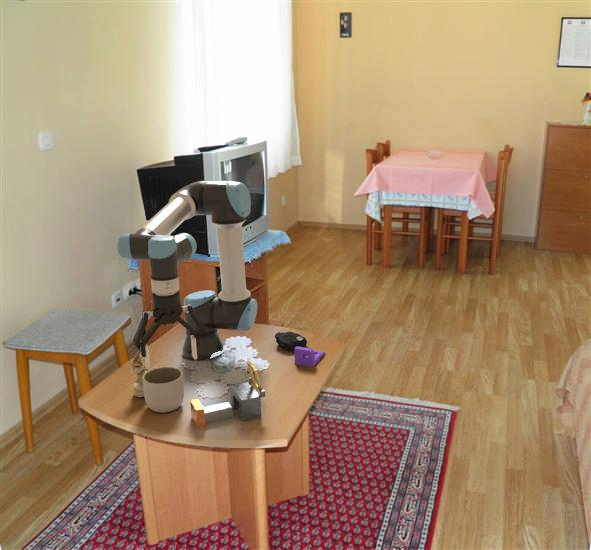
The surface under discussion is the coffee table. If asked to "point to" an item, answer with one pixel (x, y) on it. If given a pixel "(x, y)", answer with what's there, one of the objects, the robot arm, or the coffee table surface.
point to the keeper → (250, 368)
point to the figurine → (138, 374)
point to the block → (246, 400)
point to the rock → (290, 340)
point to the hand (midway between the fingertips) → (171, 362)
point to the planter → (163, 389)
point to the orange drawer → (209, 413)
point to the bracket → (307, 356)
